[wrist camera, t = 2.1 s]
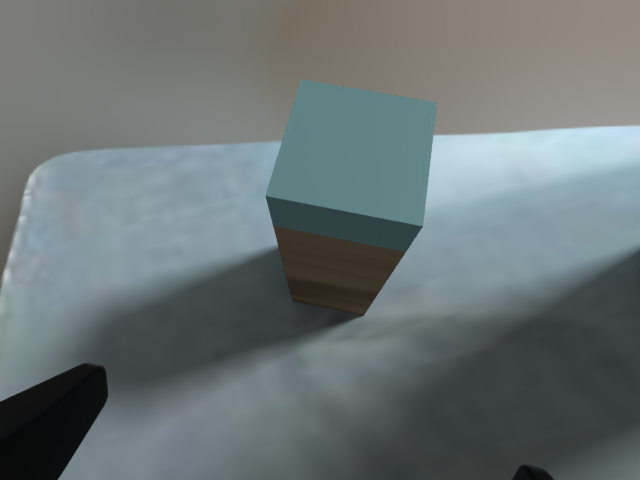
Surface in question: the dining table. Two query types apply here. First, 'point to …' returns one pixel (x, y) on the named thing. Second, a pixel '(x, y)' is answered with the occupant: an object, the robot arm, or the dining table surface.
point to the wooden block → (349, 191)
